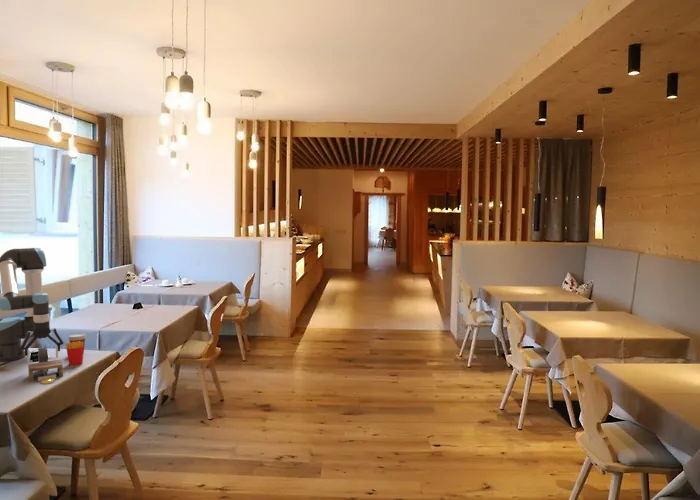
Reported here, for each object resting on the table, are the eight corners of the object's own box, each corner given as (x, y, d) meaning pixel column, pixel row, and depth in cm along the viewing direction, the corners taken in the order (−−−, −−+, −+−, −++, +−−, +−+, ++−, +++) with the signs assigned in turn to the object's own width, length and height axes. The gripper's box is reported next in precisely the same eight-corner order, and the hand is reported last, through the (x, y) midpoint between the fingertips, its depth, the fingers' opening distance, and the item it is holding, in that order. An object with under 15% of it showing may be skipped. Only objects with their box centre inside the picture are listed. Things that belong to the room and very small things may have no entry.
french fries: (84, 361, 305) (83, 339, 304) (84, 363, 301) (83, 341, 300) (66, 364, 301) (65, 341, 300) (66, 366, 297) (65, 343, 296)
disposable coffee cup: (79, 357, 314) (78, 337, 313) (65, 356, 316) (64, 336, 315) (90, 352, 323) (89, 333, 322) (76, 351, 325) (75, 332, 324)
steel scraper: (34, 370, 289) (33, 349, 288) (51, 367, 294) (50, 346, 293) (38, 381, 271) (37, 359, 270) (56, 378, 276) (55, 356, 275)
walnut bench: (28, 376, 279) (28, 364, 279) (60, 371, 288) (60, 359, 287) (30, 381, 271) (29, 369, 271) (62, 376, 280) (62, 364, 279)
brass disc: (40, 381, 272) (40, 379, 272) (54, 379, 275) (53, 377, 275) (41, 385, 267) (41, 382, 267) (55, 383, 270) (55, 380, 270)
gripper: (14, 325, 277) (16, 364, 279) (68, 320, 291) (69, 357, 293) (14, 322, 283) (15, 361, 285) (66, 317, 297) (67, 353, 299)
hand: (43, 359), depth 289 cm, fingers open, 13 cm apart
